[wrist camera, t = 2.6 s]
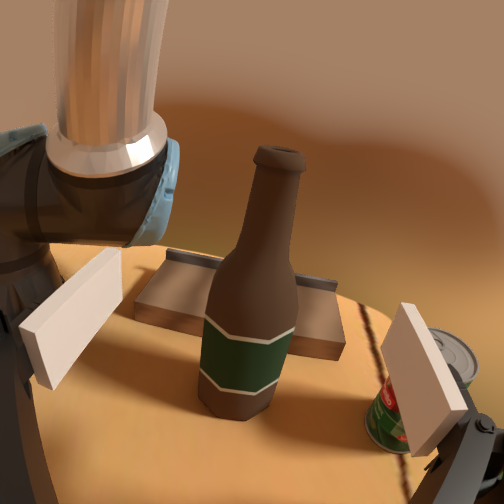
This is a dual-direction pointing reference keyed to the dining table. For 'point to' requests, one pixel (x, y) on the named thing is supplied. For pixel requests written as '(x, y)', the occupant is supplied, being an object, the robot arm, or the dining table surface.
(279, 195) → the beer bottle
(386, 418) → the canned tomato
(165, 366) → the dining table surface
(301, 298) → the shelf
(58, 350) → the robot arm
